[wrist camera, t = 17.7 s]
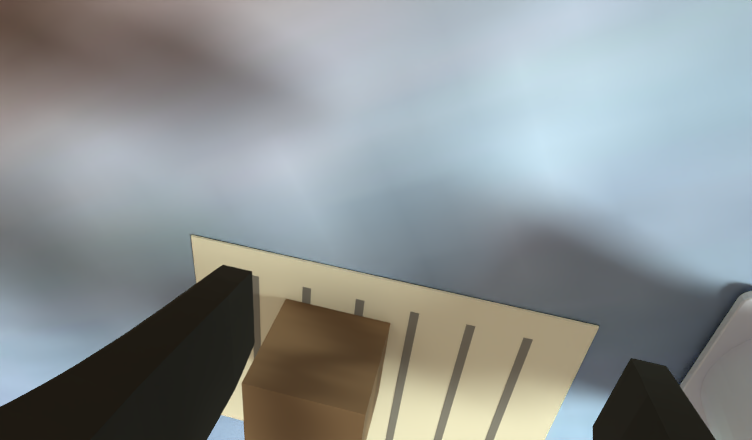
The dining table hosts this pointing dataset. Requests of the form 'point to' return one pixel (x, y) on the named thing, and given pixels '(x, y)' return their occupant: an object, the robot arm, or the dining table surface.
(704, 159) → the dining table surface
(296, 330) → the walnut block
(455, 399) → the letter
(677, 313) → the dining table surface
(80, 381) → the robot arm
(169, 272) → the dining table surface
